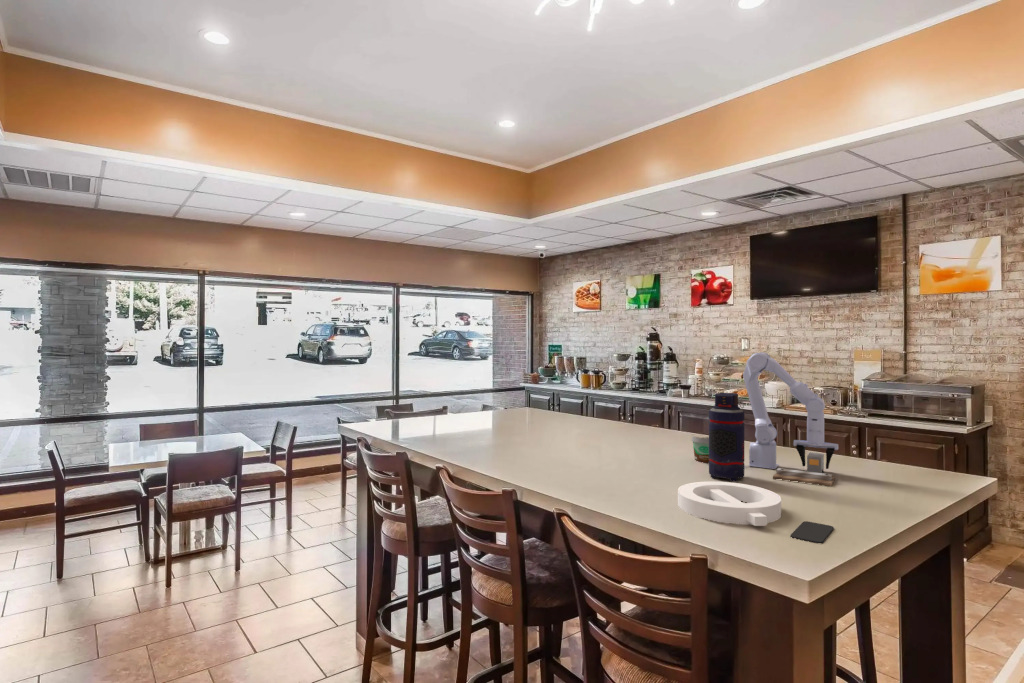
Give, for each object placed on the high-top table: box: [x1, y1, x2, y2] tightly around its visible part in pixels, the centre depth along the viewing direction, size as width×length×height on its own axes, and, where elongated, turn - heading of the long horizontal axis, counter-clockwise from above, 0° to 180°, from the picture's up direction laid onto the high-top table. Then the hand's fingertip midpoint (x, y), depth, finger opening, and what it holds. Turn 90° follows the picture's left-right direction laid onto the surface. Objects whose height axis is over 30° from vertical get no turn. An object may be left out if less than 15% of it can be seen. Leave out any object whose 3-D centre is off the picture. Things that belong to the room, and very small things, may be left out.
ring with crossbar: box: [677, 481, 782, 527], centre depth 165 cm, size 28×28×5 cm
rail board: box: [772, 467, 836, 487], centre depth 200 cm, size 18×12×3 cm, turn 55°
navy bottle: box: [708, 392, 745, 482], centre depth 203 cm, size 14×12×30 cm
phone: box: [790, 520, 835, 544], centre depth 145 cm, size 7×1×15 cm
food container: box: [690, 435, 710, 464], centre depth 227 cm, size 12×6×10 cm, turn 73°
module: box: [806, 451, 825, 473], centre depth 210 cm, size 4×8×6 cm, turn 145°
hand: (815, 467), depth 210 cm, fingers open, 7 cm apart
